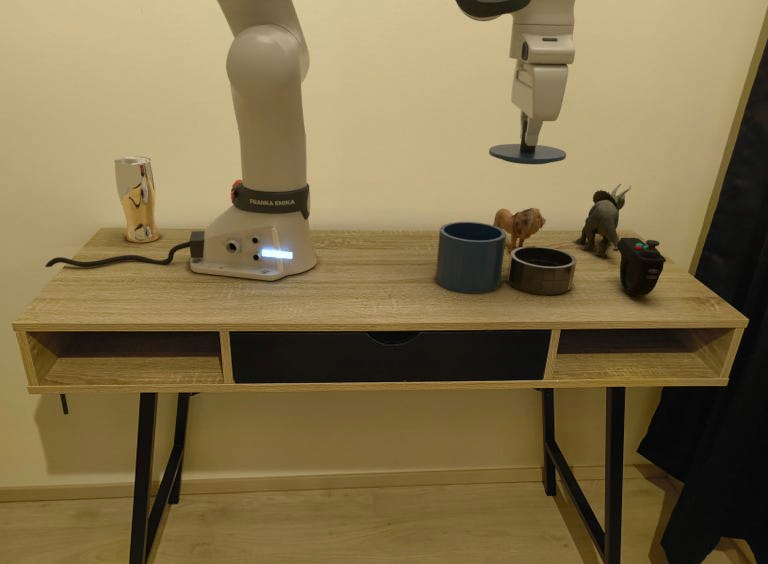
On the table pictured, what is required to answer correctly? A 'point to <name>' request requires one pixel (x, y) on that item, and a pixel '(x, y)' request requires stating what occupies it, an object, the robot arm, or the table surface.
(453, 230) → the pot
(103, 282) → the table surface
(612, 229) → the toy dinosaur
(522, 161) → the lid
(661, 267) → the controller
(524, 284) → the pan
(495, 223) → the lion figurine
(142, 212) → the beer glass
